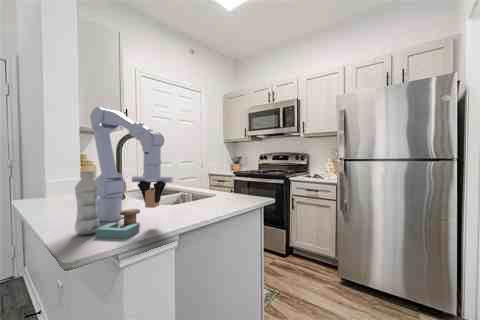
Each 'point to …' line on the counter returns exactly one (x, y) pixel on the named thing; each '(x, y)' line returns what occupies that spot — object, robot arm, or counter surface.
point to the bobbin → (129, 217)
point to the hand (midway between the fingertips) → (152, 202)
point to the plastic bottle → (87, 204)
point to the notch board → (116, 231)
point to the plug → (150, 198)
